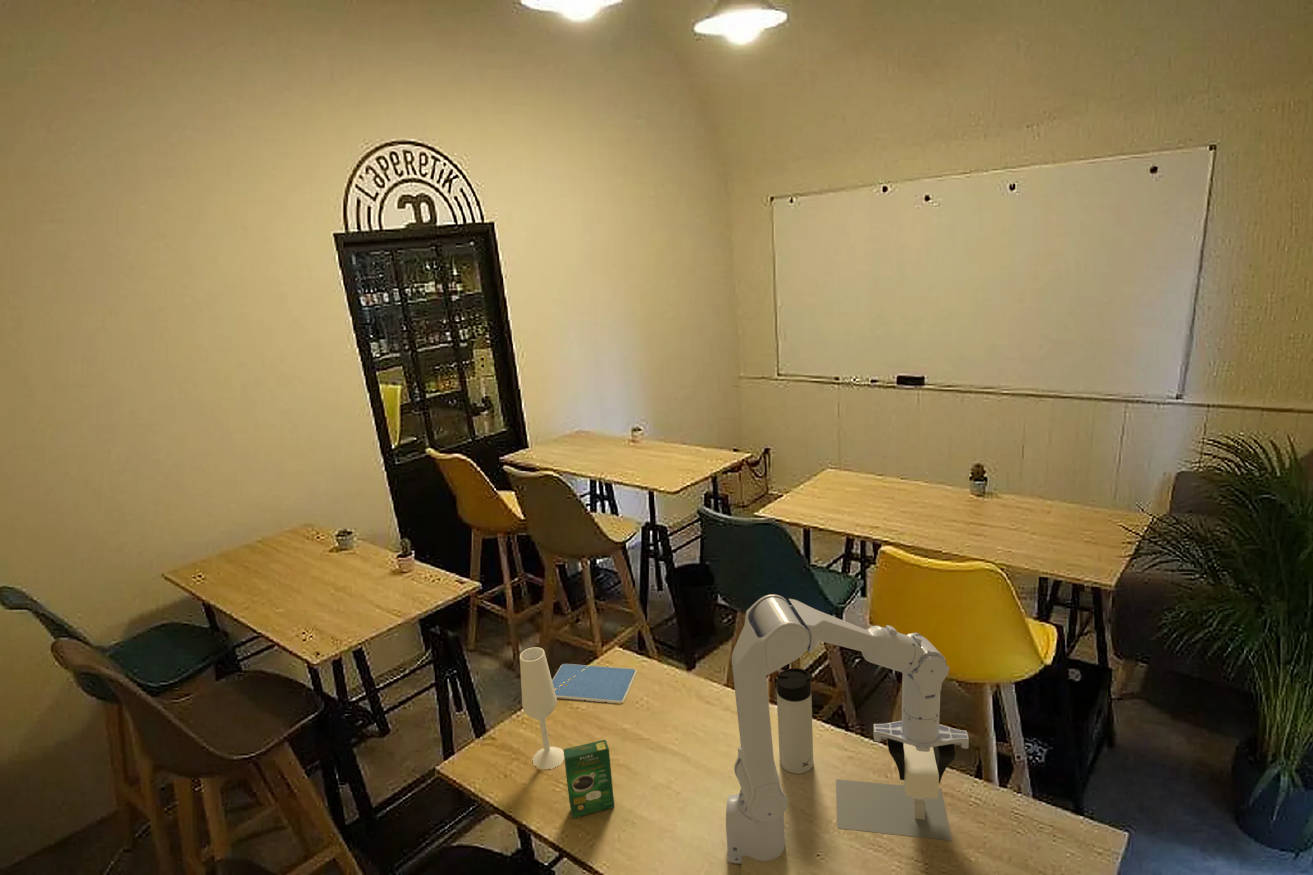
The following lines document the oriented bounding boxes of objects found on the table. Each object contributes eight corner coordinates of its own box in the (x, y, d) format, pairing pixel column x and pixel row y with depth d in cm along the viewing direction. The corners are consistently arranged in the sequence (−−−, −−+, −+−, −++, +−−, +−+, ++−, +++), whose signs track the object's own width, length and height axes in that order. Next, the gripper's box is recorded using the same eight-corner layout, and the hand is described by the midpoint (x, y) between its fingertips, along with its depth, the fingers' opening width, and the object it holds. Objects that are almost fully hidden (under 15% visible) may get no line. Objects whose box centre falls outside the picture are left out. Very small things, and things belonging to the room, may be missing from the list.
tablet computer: (638, 672, 166) (638, 667, 166) (623, 706, 154) (623, 701, 154) (562, 667, 171) (561, 662, 171) (542, 700, 159) (542, 695, 159)
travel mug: (815, 779, 129) (813, 687, 123) (779, 777, 130) (775, 685, 125) (815, 755, 135) (812, 665, 129) (780, 753, 136) (776, 664, 130)
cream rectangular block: (905, 795, 114) (906, 773, 113) (901, 764, 121) (901, 742, 120) (938, 798, 113) (939, 776, 112) (931, 767, 120) (932, 745, 119)
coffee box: (613, 796, 129) (605, 737, 125) (616, 808, 126) (609, 747, 123) (570, 808, 127) (561, 748, 124) (572, 820, 125) (563, 759, 121)
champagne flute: (526, 768, 138) (508, 663, 131) (539, 745, 144) (523, 643, 137) (557, 772, 136) (541, 665, 130) (569, 748, 142) (554, 645, 136)
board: (837, 832, 117) (836, 813, 116) (835, 783, 127) (835, 765, 126) (952, 845, 113) (952, 825, 112) (941, 793, 123) (941, 774, 122)
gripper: (875, 721, 111) (875, 791, 115) (973, 728, 108) (970, 800, 112) (872, 693, 118) (872, 760, 121) (965, 699, 114) (962, 767, 118)
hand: (919, 777), depth 117 cm, fingers closed on cream rectangular block, 5 cm apart
